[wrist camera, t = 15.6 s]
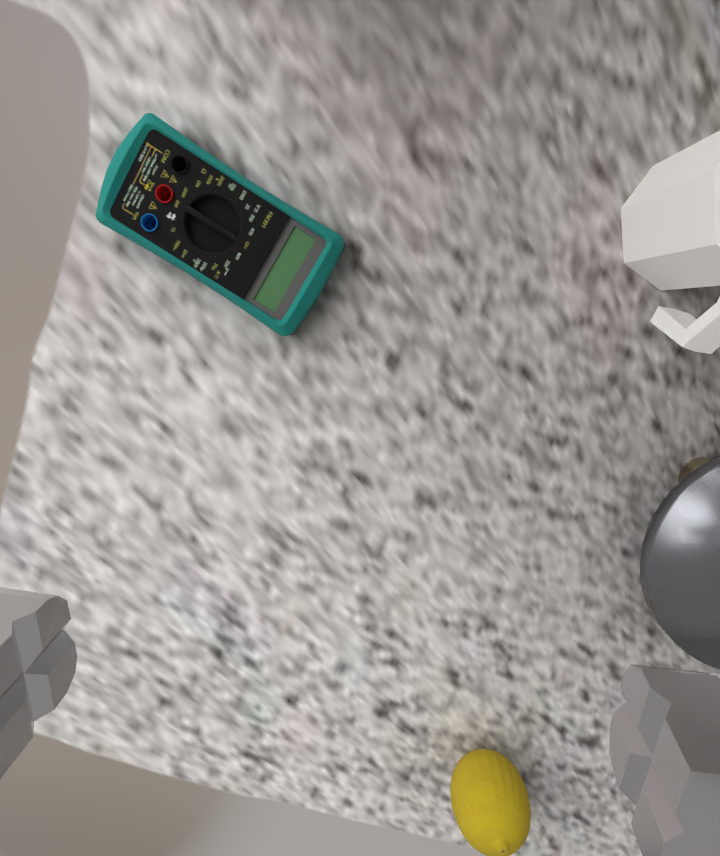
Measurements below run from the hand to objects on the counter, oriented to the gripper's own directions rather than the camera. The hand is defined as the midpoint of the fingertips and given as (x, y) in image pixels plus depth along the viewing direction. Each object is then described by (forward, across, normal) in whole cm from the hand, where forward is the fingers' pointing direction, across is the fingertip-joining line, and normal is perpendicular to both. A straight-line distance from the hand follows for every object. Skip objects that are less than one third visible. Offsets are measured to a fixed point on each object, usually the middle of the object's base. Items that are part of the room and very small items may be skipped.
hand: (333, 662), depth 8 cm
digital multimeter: (+31, +12, -5) cm, 34 cm away
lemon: (+27, -8, +33) cm, 44 cm away
